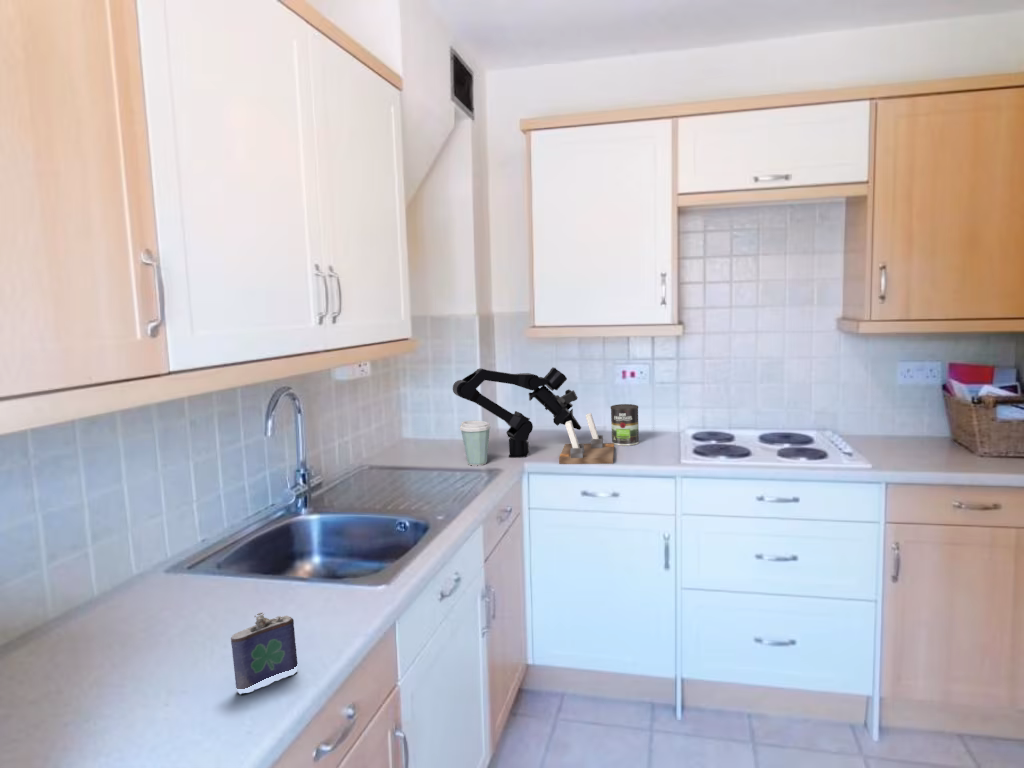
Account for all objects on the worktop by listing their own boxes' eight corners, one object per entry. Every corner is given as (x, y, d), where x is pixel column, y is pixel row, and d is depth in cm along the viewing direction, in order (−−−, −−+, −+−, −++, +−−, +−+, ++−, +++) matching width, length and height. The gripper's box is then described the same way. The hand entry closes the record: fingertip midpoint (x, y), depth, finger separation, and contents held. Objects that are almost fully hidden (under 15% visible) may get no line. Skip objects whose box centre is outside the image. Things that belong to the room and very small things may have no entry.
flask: (239, 698, 95) (231, 628, 94) (233, 689, 98) (225, 621, 96) (301, 673, 101) (294, 607, 100) (294, 665, 103) (287, 601, 102)
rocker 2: (594, 447, 234) (584, 416, 233) (595, 444, 238) (585, 414, 237) (601, 445, 233) (591, 414, 233) (601, 443, 237) (591, 412, 236)
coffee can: (637, 446, 240) (636, 408, 239) (609, 445, 244) (608, 408, 242) (641, 440, 250) (640, 403, 248) (614, 439, 253) (613, 403, 252)
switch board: (559, 464, 221) (558, 449, 220) (565, 449, 242) (564, 435, 241) (613, 463, 217) (612, 448, 217) (614, 448, 239) (613, 435, 238)
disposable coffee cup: (488, 458, 233) (485, 417, 231) (496, 465, 223) (494, 422, 221) (459, 462, 230) (456, 420, 228) (466, 469, 220) (463, 425, 218)
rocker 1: (574, 456, 221) (564, 424, 220) (575, 454, 225) (565, 422, 224) (581, 455, 221) (571, 422, 220) (582, 452, 225) (572, 420, 224)
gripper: (561, 387, 226) (594, 417, 225) (565, 380, 244) (596, 408, 244) (539, 410, 228) (572, 440, 228) (545, 401, 246) (576, 429, 246)
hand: (580, 428), depth 236 cm, fingers closed
